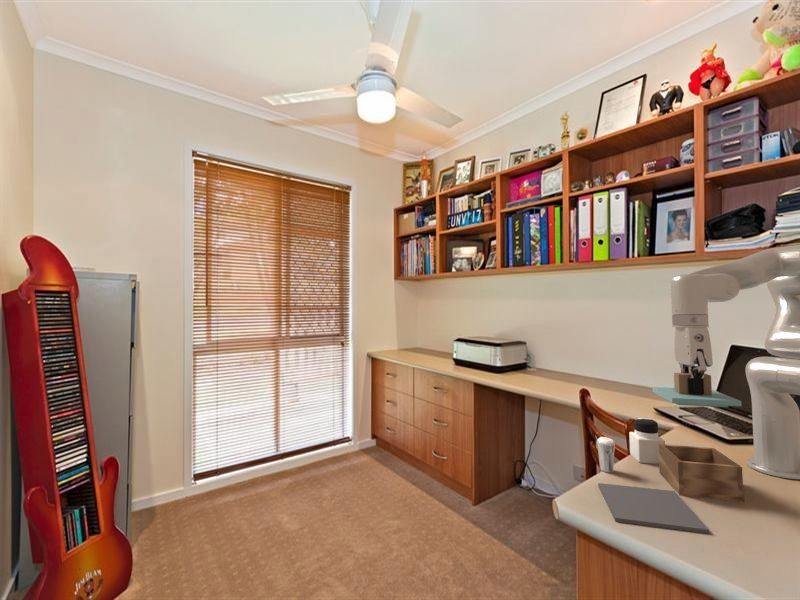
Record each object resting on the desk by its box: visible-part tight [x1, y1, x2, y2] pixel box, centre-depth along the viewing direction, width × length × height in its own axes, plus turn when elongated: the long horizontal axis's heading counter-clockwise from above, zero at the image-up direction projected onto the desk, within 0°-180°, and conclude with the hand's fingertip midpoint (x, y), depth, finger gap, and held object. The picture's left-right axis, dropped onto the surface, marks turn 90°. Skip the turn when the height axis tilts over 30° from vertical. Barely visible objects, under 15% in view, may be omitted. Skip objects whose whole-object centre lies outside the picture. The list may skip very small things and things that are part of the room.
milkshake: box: [595, 435, 616, 474], centre depth 107 cm, size 4×5×10 cm
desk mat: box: [597, 482, 710, 535], centre depth 87 cm, size 17×17×1 cm
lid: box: [651, 372, 742, 408], centre depth 97 cm, size 14×14×7 cm
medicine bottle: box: [628, 417, 666, 465], centre depth 114 cm, size 7×7×12 cm
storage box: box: [658, 443, 745, 503], centre depth 97 cm, size 13×13×8 cm
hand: (692, 391), depth 97 cm, fingers closed on lid, 3 cm apart
